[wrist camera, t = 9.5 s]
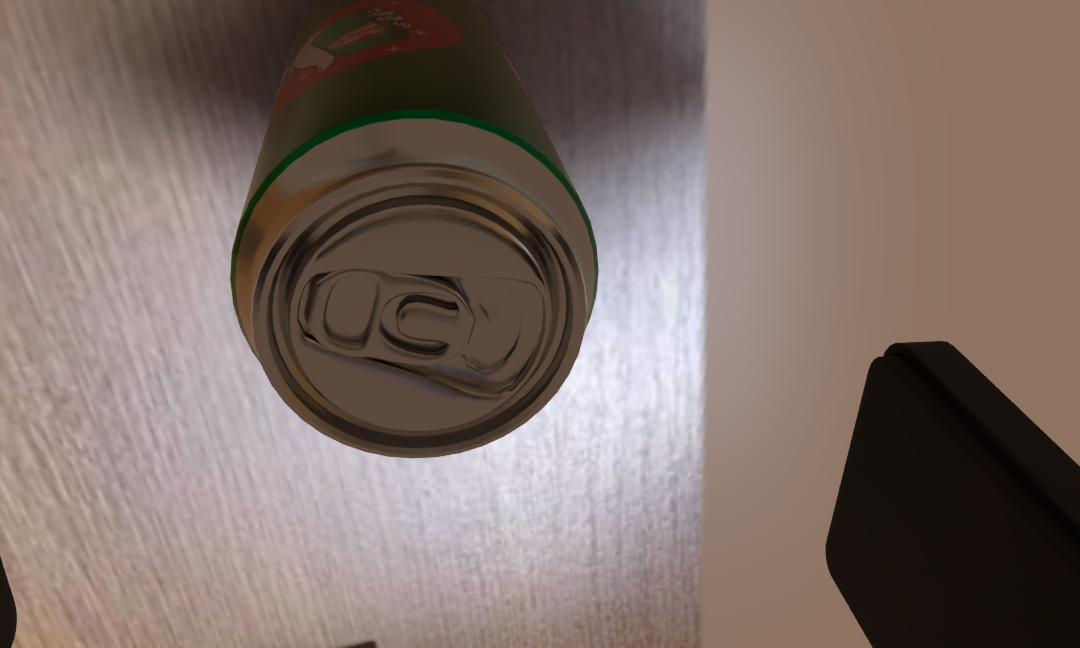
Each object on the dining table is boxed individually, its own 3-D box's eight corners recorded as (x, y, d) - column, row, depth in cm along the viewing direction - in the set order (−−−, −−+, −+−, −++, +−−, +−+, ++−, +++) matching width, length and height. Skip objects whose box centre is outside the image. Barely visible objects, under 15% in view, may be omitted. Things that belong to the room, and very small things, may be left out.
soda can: (475, 196, 24) (552, 502, 14) (274, 152, 23) (195, 455, 13) (530, -2, 22) (669, 189, 12) (310, -64, 21) (251, 91, 10)
